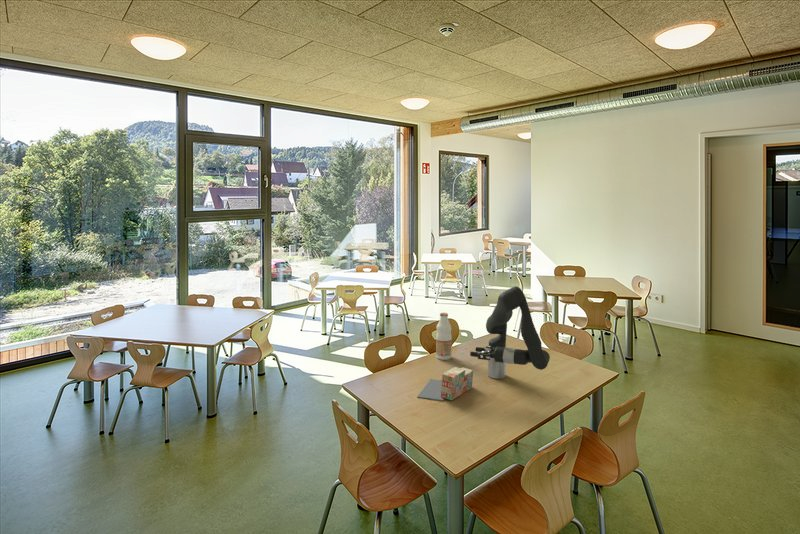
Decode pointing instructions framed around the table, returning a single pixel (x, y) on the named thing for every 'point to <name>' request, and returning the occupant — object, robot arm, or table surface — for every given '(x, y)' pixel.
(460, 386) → the patterned cardboard box
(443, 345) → the fruit juice
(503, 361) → the robot arm
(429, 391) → the mat
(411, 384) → the table surface
